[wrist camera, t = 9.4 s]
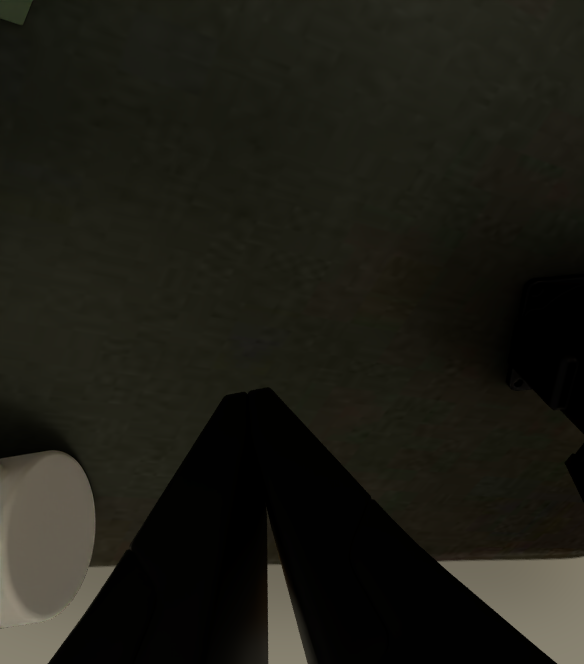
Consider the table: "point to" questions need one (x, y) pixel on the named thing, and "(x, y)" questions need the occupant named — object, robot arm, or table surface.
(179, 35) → the table surface
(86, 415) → the table surface
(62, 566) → the mug
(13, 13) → the button base
